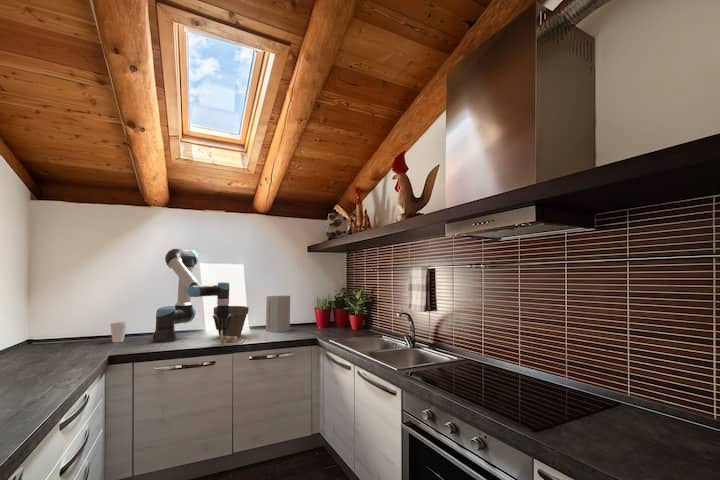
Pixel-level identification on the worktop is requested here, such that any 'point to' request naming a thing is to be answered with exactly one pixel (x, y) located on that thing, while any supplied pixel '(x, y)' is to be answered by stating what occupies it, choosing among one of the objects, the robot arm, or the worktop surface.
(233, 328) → the plant pot
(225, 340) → the t block
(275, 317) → the grey faceted cylinder
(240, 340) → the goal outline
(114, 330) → the foam cup
